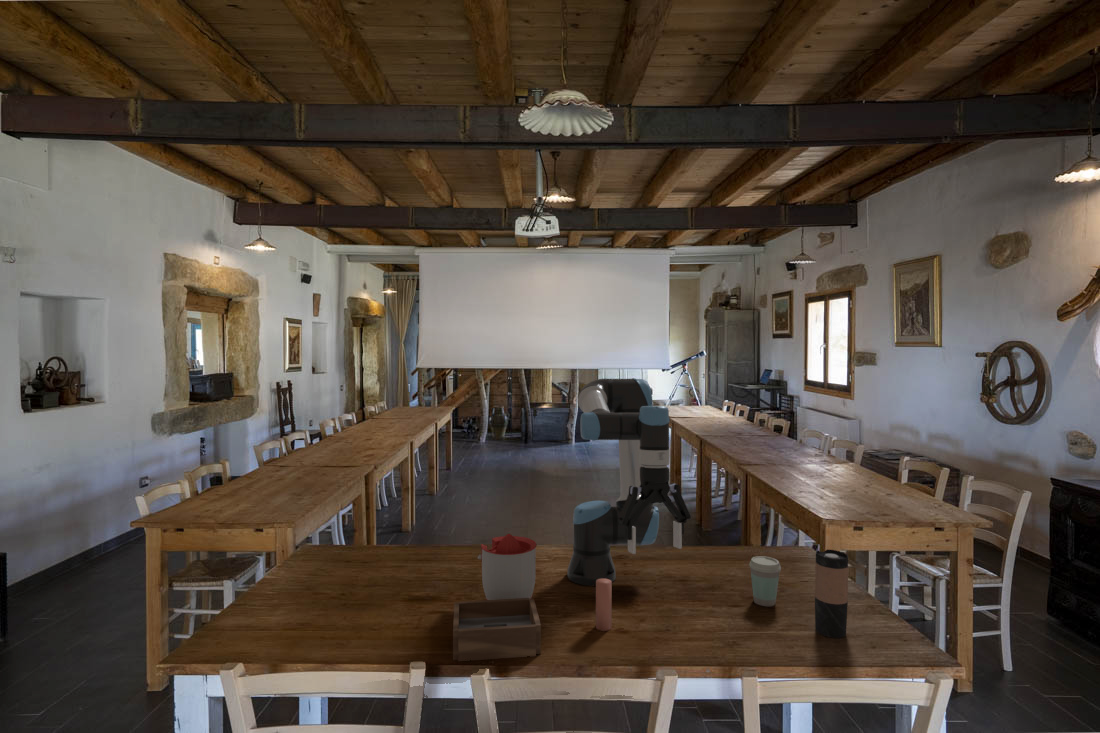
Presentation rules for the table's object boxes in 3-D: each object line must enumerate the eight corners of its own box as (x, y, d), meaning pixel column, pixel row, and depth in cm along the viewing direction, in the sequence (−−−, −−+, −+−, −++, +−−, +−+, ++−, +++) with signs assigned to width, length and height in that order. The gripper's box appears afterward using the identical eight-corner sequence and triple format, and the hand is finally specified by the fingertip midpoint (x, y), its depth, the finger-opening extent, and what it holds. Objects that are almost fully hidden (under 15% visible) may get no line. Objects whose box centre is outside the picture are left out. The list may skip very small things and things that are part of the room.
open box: (454, 628, 154) (454, 601, 154) (533, 624, 157) (533, 597, 157) (453, 661, 138) (453, 631, 138) (541, 655, 141) (541, 626, 141)
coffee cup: (783, 609, 166) (783, 567, 166) (750, 607, 168) (751, 564, 168) (777, 597, 175) (778, 556, 174) (747, 594, 176) (747, 554, 176)
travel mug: (845, 641, 148) (846, 561, 148) (811, 633, 152) (813, 555, 152) (848, 629, 155) (850, 552, 154) (816, 622, 159) (817, 547, 158)
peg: (594, 624, 157) (594, 578, 157) (609, 623, 158) (609, 578, 157) (597, 631, 153) (597, 584, 153) (612, 630, 154) (613, 584, 154)
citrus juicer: (494, 588, 181) (494, 522, 180) (545, 598, 173) (546, 529, 173) (464, 608, 167) (464, 536, 166) (519, 620, 159) (519, 545, 159)
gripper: (618, 469, 146) (619, 558, 145) (703, 465, 155) (704, 548, 154) (604, 466, 153) (604, 551, 152) (686, 462, 162) (687, 542, 161)
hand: (655, 550), depth 153 cm, fingers open, 13 cm apart
